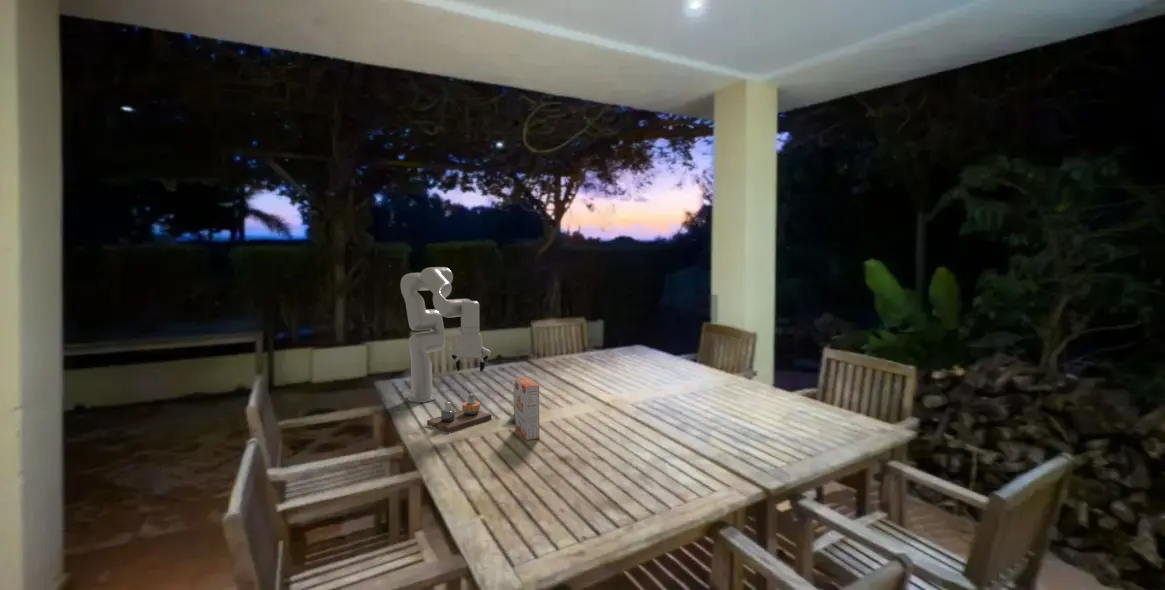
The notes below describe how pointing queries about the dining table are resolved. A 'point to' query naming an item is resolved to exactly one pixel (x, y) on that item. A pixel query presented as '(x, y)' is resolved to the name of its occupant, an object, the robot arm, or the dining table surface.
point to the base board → (459, 421)
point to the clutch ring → (471, 407)
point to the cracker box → (527, 408)
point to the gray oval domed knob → (447, 414)
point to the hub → (471, 402)
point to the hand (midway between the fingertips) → (470, 370)
